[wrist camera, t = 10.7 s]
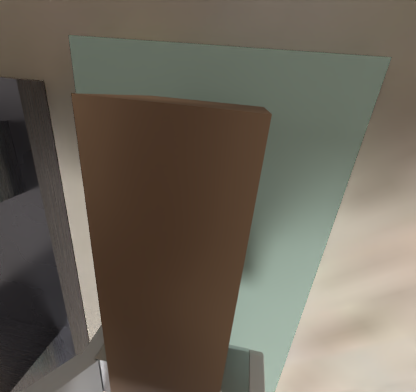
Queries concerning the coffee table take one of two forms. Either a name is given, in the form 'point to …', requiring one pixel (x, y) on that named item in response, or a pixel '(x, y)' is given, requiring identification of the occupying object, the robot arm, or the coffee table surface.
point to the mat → (273, 158)
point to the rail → (168, 230)
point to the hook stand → (34, 245)
